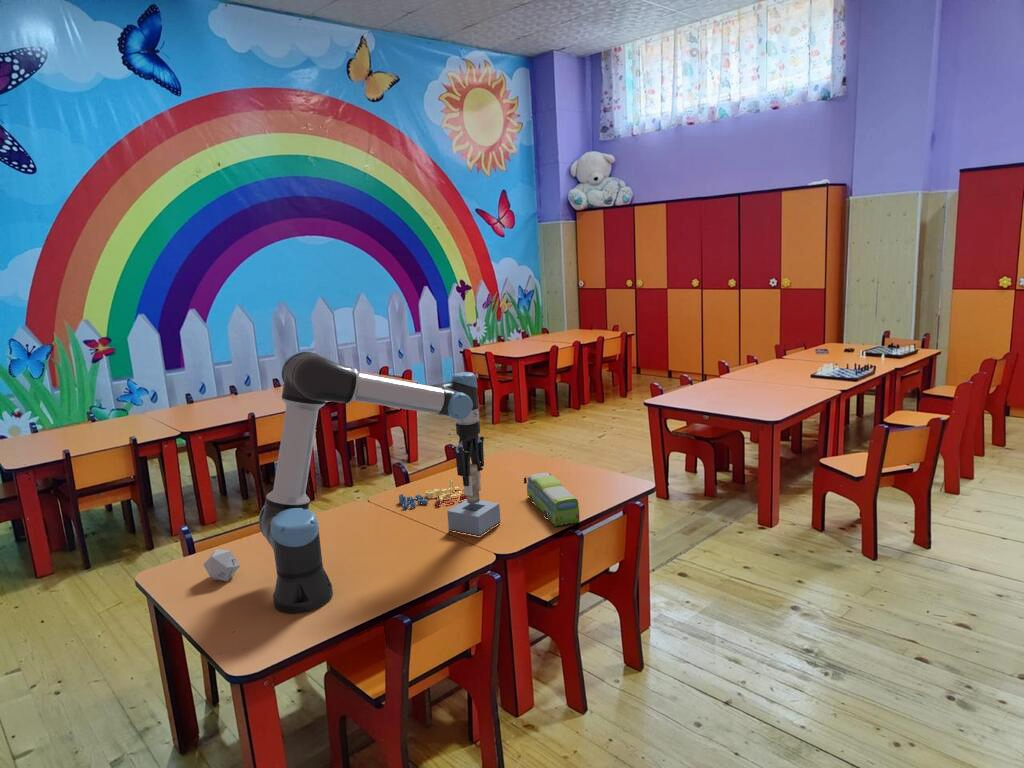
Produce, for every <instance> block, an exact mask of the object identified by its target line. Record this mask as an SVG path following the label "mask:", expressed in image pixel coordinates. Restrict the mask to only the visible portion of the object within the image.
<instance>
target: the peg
mask: <svg viewBox="0 0 1024 768" xmlns="http://www.w3.org/2000/svg"><path fill="white" fill-rule="evenodd" d="M470 475H471V477H472V490H473V495H472V496H469V495H467V502H468V503H470V504H474V503H478V502H479V501H480V500H481V499H480V491H479V484H478V470H477V464H472V463H470Z"/></svg>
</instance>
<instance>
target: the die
mask: <svg viewBox="0 0 1024 768" xmlns="http://www.w3.org/2000/svg"><path fill="white" fill-rule="evenodd" d="M202 565H203V567H204V569H205V570H206V572H207V574H208V576H209V577H210V578H211V580H212V581H213V580H214V581H215V580H216V581H222V582H228V581H229V580H230V579H231V578H232V576H233V575H234V574H235V573H236V572H237V570H238V569H239V568H240V566H241V565H240V563H239V562H238V560H237V558H236V556H235V555H234V553H233V552H232V550H227V549H219V548H216V549H215V550H214V551H213V552H212V553H211V555H210V556H209V557H208V558H207V559H206V560H205V562H203V564H202Z"/></svg>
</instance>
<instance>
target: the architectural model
mask: <svg viewBox="0 0 1024 768" xmlns="http://www.w3.org/2000/svg"><path fill="white" fill-rule="evenodd" d="M447 482H448V488H444V489H443V488H434V489H432V490H431V489H427V490H426V491H425V492H424V493H425V495H426V496H427V497H428V498H432V497H434V496H433V495H435V496H439V499H440V500H444V499H447V498H450V497H451V498H452V497H456V496H460V494H458V493H463V492H464V487H463V488H460V487H459V486H455V487H454V485H453V480H452V479H449V478H448V479H447ZM454 488H455V489H458V488H459V489H461V490H462V491H460V490H459V491H457V493H455V494H450V493H452V490H453V491H454ZM456 494H457V495H456ZM440 495H441V496H440ZM426 496H425V497H426ZM427 497H426V499H425V498H424V496H423V495H421V494H416V495H415V498H414V497H413V496H410V495H409V496H406V495H404V494H399V495H398V501H399V504H400V505H401V504H402V505H401V507H402V508H401V509H403V510H404V509H405V510H408V509H409V507H410V508H411V509H415V508H414V507H417V505H418V504H421V503H422V504H428V505H429V501H428V500H429V499H428V498H427ZM416 498H417V499H418V500H417V499H416ZM423 499H424V500H423ZM439 499H438V500H436V499H435V501H434V505H435V504H436V505H438V506H439V505H441V506H442V504H441V501H440V500H439ZM464 499H467V495H465V494H464V495H462V494H461V496H460V500H464ZM416 500H417V504H416ZM409 501H410V502H411V503H410V502H409ZM443 502H444V503H445V504H450V503H454V504H455V501H454V499H450V500H446V501H443ZM444 503H443V504H444ZM403 504H404V505H403ZM422 504H421V505H422ZM409 505H410V506H409ZM436 505H435V506H436ZM408 506H409V507H408ZM412 507H413V508H412ZM405 510H404V511H405Z"/></svg>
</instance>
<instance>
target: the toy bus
mask: <svg viewBox="0 0 1024 768" xmlns="http://www.w3.org/2000/svg"><path fill="white" fill-rule="evenodd" d="M523 484H527V485H526V494H527V497H528V496H529V497H530V498H529V497H528V498H529V499H530V502H531V501H532V502H534V503H535V504H536V505H537V506H536V505H535V506H536V507H537V508H538V509H539V510H540V512H542V514H543V513H544V514H543V516H545V517H546V518H548V519H549V520H550V521H549V522H551V524H552V523H553V524H554V525H553V524H552V525H553V526H554V527H557V525H559V526H562V525H561V524H565V525H569V524H568V523H571V524H577V523H580V507H579V500H578V498H577V497H575V496H574V495H572V494H571V492H570V491H568V490H567V489H566V488H565V487H564V485H563V483H562V482H561V481H560V480H559V479H558V478H556V476H555V475H552V474H551V473H550V472H549V473H548V472H541V473H534V474H531V475H529V476H528V477H527V476H525V477H523ZM532 502H531V503H532ZM545 517H544V518H545ZM548 519H547V520H548Z"/></svg>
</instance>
